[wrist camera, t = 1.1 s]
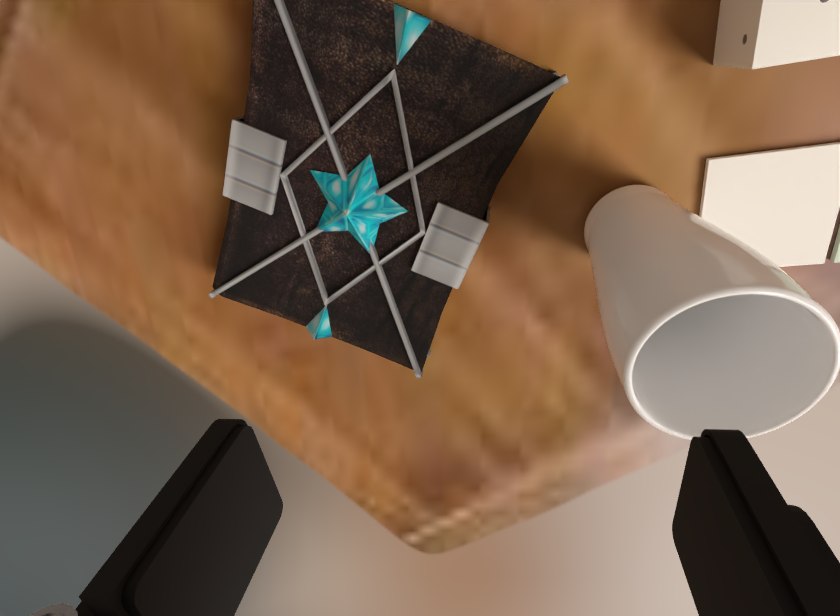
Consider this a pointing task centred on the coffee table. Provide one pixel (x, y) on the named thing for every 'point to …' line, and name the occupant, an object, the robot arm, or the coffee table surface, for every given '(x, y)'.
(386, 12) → the book
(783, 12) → the die
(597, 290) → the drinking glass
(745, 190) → the squares
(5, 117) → the coffee table surface
